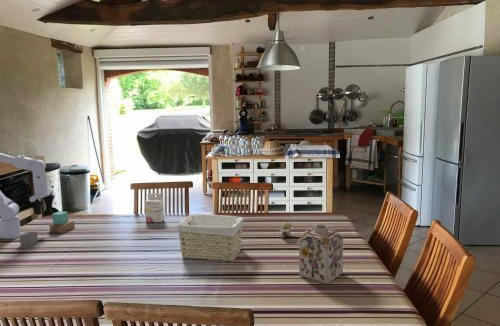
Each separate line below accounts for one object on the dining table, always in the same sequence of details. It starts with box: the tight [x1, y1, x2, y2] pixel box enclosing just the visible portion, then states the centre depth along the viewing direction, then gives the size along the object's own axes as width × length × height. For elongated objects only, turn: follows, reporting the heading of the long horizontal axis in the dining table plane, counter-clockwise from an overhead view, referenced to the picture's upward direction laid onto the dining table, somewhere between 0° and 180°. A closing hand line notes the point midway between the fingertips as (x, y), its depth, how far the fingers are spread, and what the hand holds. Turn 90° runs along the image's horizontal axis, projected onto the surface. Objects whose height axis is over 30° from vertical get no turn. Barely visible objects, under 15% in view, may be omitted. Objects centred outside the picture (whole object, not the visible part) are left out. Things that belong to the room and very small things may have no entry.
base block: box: [49, 219, 75, 234], centre depth 207 cm, size 8×8×4 cm
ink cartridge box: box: [144, 192, 165, 224], centre depth 216 cm, size 9×5×15 cm, turn 84°
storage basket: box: [176, 213, 244, 262], centre depth 168 cm, size 24×16×15 cm
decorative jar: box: [298, 224, 344, 285], centre depth 146 cm, size 12×12×18 cm
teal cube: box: [51, 211, 69, 224], centre depth 206 cm, size 5×5×5 cm
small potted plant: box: [279, 221, 294, 240], centre depth 188 cm, size 12×18×7 cm, turn 158°
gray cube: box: [19, 231, 39, 247], centre depth 187 cm, size 5×5×5 cm
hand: (43, 212), depth 201 cm, fingers open, 7 cm apart
